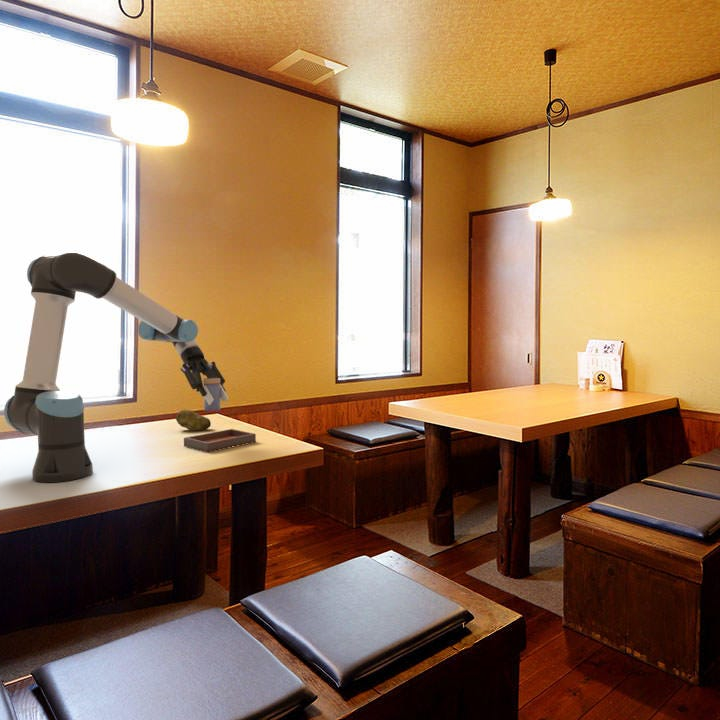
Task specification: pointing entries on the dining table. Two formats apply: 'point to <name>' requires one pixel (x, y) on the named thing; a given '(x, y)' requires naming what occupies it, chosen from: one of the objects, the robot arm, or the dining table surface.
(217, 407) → the shaker
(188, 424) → the potato
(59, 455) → the robot arm
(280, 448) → the dining table surface
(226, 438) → the tray
